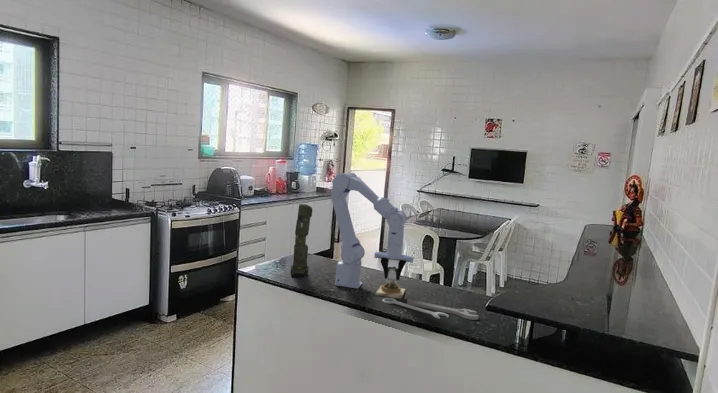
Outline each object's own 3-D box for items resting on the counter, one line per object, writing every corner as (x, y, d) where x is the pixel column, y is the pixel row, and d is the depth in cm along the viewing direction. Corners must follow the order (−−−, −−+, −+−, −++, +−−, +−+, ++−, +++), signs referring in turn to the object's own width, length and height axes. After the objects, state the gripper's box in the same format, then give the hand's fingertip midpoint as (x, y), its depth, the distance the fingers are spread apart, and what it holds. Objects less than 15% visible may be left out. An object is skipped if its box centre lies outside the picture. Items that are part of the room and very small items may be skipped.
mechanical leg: (305, 278, 180) (312, 203, 184) (287, 277, 180) (294, 201, 185) (309, 277, 194) (315, 207, 198) (292, 276, 194) (298, 205, 198)
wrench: (444, 323, 150) (450, 318, 154) (444, 318, 150) (451, 314, 154) (379, 302, 164) (386, 299, 168) (379, 298, 164) (387, 295, 168)
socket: (375, 295, 170) (376, 288, 170) (380, 287, 180) (381, 281, 179) (401, 298, 168) (402, 292, 168) (404, 291, 178) (405, 285, 177)
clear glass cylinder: (384, 286, 172) (386, 267, 171) (387, 283, 176) (389, 264, 175) (395, 288, 171) (396, 268, 170) (397, 285, 175) (399, 266, 174)
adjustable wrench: (405, 305, 163) (405, 300, 163) (412, 300, 169) (412, 296, 169) (475, 322, 152) (476, 316, 152) (480, 316, 158) (480, 311, 157)
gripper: (374, 243, 170) (371, 278, 171) (413, 247, 167) (409, 284, 168) (377, 239, 177) (374, 274, 178) (415, 244, 173) (412, 279, 175)
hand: (392, 278), depth 173 cm, fingers closed on clear glass cylinder, 4 cm apart
